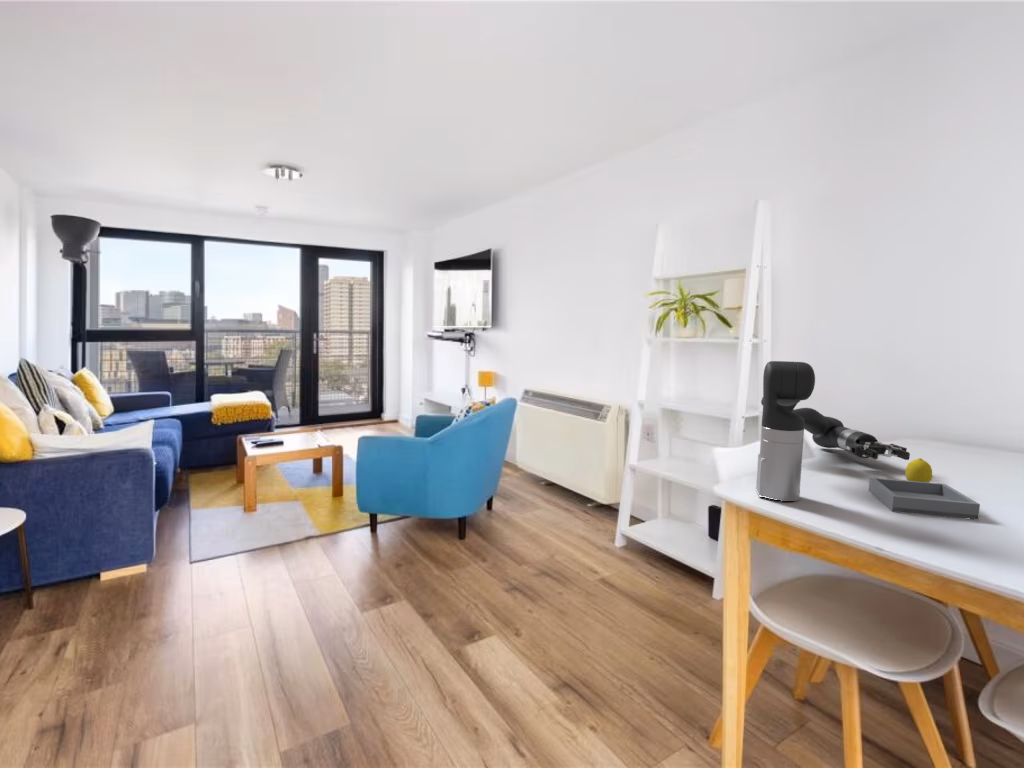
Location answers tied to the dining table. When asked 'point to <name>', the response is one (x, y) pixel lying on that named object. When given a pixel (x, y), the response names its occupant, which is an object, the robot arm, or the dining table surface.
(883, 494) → the tray
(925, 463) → the lemon
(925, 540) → the dining table surface
